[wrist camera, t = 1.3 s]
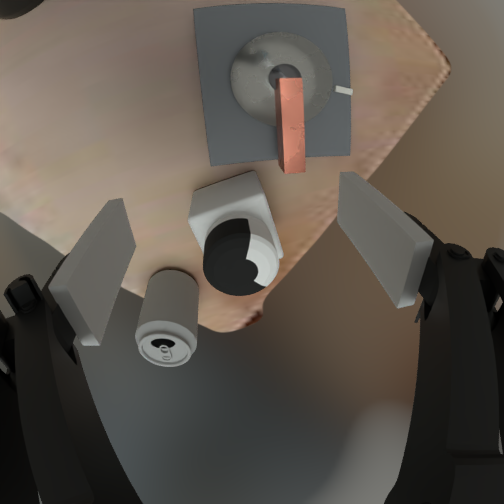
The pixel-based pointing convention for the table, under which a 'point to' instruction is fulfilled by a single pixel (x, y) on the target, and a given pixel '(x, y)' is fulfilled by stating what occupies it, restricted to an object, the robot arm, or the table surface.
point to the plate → (221, 95)
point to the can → (168, 319)
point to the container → (236, 235)
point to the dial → (283, 89)
